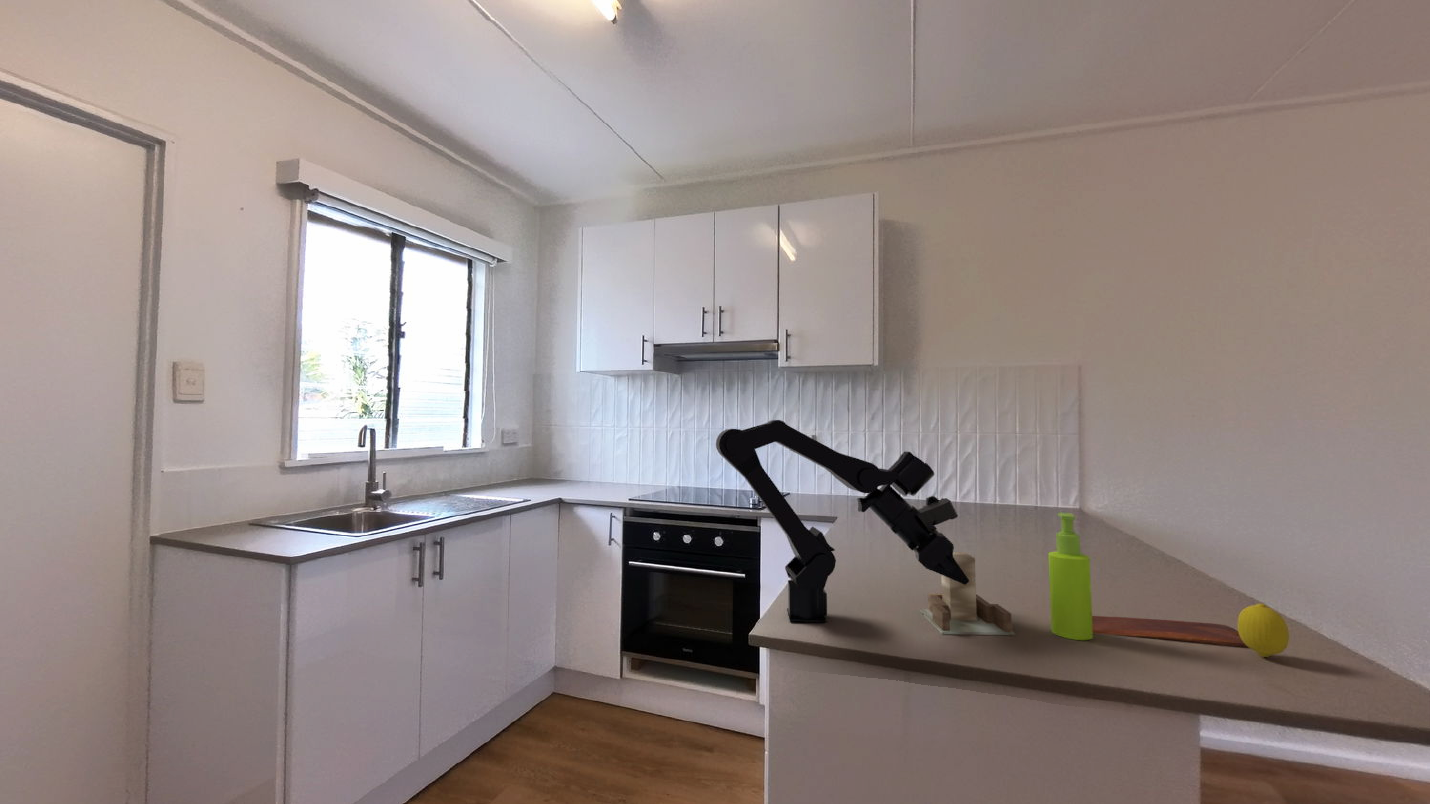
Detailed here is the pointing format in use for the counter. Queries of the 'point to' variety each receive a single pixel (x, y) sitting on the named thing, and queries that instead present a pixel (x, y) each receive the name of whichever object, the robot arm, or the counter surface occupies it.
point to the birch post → (961, 590)
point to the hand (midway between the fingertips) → (960, 575)
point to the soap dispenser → (1070, 585)
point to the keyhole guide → (988, 620)
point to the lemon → (1263, 630)
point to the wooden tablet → (1168, 630)
